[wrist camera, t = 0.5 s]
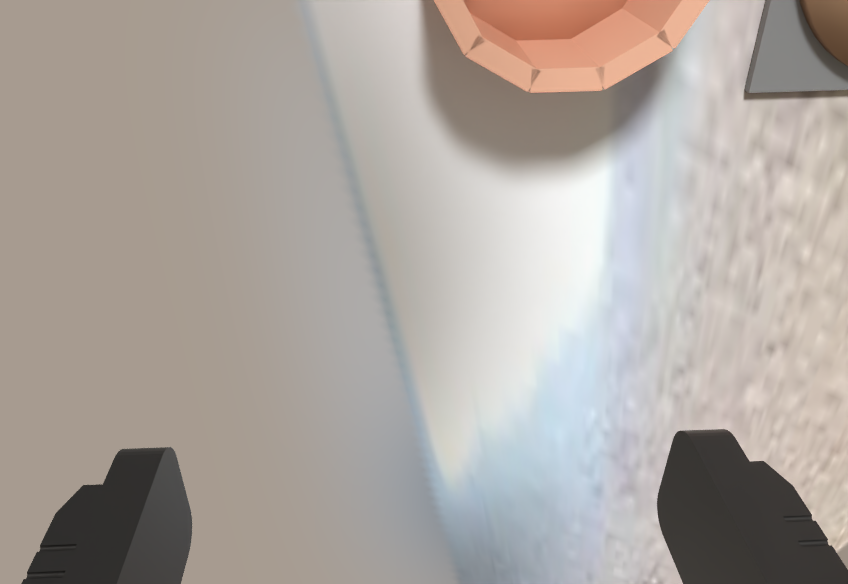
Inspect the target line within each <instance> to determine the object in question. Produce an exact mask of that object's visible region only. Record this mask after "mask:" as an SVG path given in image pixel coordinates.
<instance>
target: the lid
mask: <svg viewBox="0 0 848 584" xmlns="http://www.w3.org/2000/svg"><path fill="white" fill-rule="evenodd" d="M800 5H801V8H802V10H803V13H804V16H805V19H806V22H807V23H808V25H809V27H810V29H811V31H812V32H813V34H814V36H815V38H816V39H817V40H818V41H819V43H820V44H821V45H822V46H823V47H824V49H825V50H826V51H827V52H828V53H830V54H831V55H832V56H833V57H834V58H836V59H837V60H838V61H839V62H841V63H843V64H845V65H846V66H848V0H800Z"/></svg>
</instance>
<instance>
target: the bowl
mask: <svg viewBox="0 0 848 584" xmlns="http://www.w3.org/2000/svg"><path fill="white" fill-rule="evenodd" d="M434 2H435V4H436V6H437V7H438V9H439V11H440V13H441V15H442V16H443V18H444V20H445V22H446V24H447V25H448V27H449V29H450V31H451V33H452V35H453V36H454V38H455V40H456V42H457V44H458V45H459V47H460V49H461V51H462V53H463V54H465V57H467V58H469V59H470V60H472V61H474V62H476V63H477V64H479V65H481V66H482V67H484V68H486V69H488V70H489V71H491V72H493V73H495V74H496V75H498V76H500V77H502V78H503V79H505V80H507V81H509V82H510V83H512V84H514V85H516V86H517V87H519V88H521V89H523V90H524V91H526V92H528V91H529V92H530V93H545V92H577V91H602V88H603V89H604V90H605V89H607V88H609V87H611V86H612V85H614V84H616V83H618V82H619V81H621V80H623V79H625V78H626V77H628V76H630V75H632V74H633V73H635V72H637V71H639V70H640V69H642V68H644V67H645V66H647V65H649V64H651V63H652V62H654V61H656V60H658V59H659V58H661V57H663V56H665V55H666V54H668V53H670V52H672V51H673V50H672V48H671V47H673V48H674V49H675V48H676V47H677V45H678V44H679V42H680V41H681V40H682V38H683V37H684V35H685V34H686V33H687V31H688V30H689V28H690V27H691V26H692V24H693V23H694V21H695V20H696V19H697V17H698V16H699V14H700V13H701V12H702V10H703V9H704V7H705V6H706V5H707V3H708V2H709V0H434Z"/></svg>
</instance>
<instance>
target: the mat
mask: <svg viewBox="0 0 848 584" xmlns="http://www.w3.org/2000/svg"><path fill="white" fill-rule="evenodd" d="M827 90H848V66H846V65H845V64H843V63H841V62H839V61H838V60H837V59H836V58H834V57H833V56H832V55H831V54H830V53H828V52H827V51H826V50H825V49H824V47H823V46H822V45H821V44H820V43H819V41H818V40H817V39H816V38H815V36H814V34H813V32H812V31H811V29H810V27H809V25H808V23H807V22H806V19H805V16H804V13H803V10H802V8H801V5H800V0H766V1H765V6H764V10H763V14H762V18H761V23H760V27H759V31H758V35H757V40H756V44H755V48H754V52H753V57H752V61H751V65H750V69H749V74H748V78H747V82H746V86H745V91H747V92H748V93H763V92H795V91H827Z"/></svg>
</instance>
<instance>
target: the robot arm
mask: <svg viewBox="0 0 848 584" xmlns="http://www.w3.org/2000/svg"><path fill="white" fill-rule="evenodd" d="M657 510H658V518H659V523H660V527H661V531H662V534H663V536H664V539H665V541H666V543H667V546H668V548H669V551H670V553H671V555H672V558H673V560H674V563H675V565H676V567H677V570H678V572H679V575H680V577H681V579H682V582H683V584H848V570H847V568H846V567H845V565H844V564H843V562H842V560H841V559H840V557H839V556H838V554H837V553H836V551H835V550H834V548H833V547H832V546H829V545H828V542H827V540H828V539H827V537H826V536H825V534H824V533H823V531H822V530H821V528H820V527H819V525H818V524H817V522H816V521H813V520H812V514H811V513H810V511H809V510H808V508H807V507H806V505H805V504H804V502H803V501H802V499H801V498H800V496H799V495H798V493H797V491H796V490H795V488H794V487H793V486H792V485H791V484H790V483H789V482H788V481H787V480H785V479H784V478H783V477H782V476H781V475H779V474H778V473H777V472H776V471H775V470H774V469H772V468H771V467H770V466H769V465H768V464H766V463H765V462H764V461H753V462H749V460H748V458H747V457H746V455H745V453H744V452H743V450H742V448H741V447H740V445H739V444H738V442H737V440H736V439H735V437H734V436H733V434H732V433H731V432H729V431H728V430H725V429H718V430H690V431H678V432H677V433H676V434H675V436H674V439H673V442H672V445H671V449H670V453H669V456H668V460H667V463H666V467H665V471H664V474H663V478H662V482H661V485H660V489H659V493H658V499H657ZM191 536H192V517H191V510H190V506H189V503H188V499H187V495H186V491H185V487H184V484H183V480H182V476H181V472H180V469H179V465H178V461H177V457H176V454H175V451H174V450H173V449H172V448H171V447H169V448H168V447H167V448H140V449H122V450H120V451H119V452H118V453H117V455H116V456H115V458H114V460H113V463H112V465H111V467H110V470H109V472H108V474H107V476H106V479H105V481H104V483H103V485H83V486H82V487H81V488H80V489H79V490H78V491H77V492H76V493H75V494H74V495H73V496H72V497H71V498H70V499H69V500H68V501H67V502H66V503H65V505H63V506H62V508H61V509H60V510H59V511H58V512H57V513H56V514H55V516H54V518H53V520H52V522H51V524H50V526H49V528H48V531H47V532H46V534H45V537H44V539H43V541H42V543H41V545H40V551H39V552H37V553H36V555H35V557H34V559H33V561H32V563H31V566H30V567H29V569H28V572H27V578H26V579H24V580H23V582H22V584H181V580H182V577H183V573H184V569H185V565H186V561H187V558H188V554H189V550H190V544H191Z"/></svg>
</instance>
